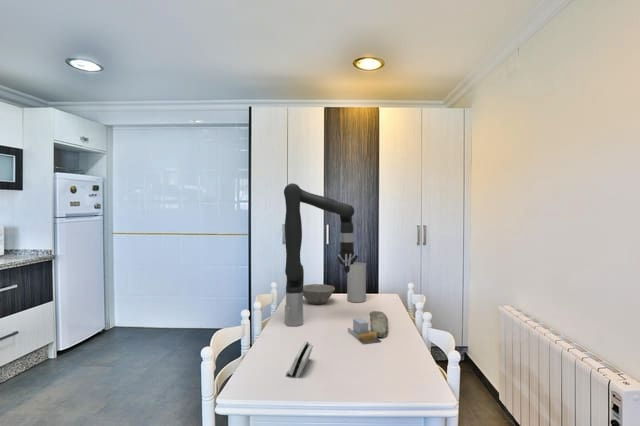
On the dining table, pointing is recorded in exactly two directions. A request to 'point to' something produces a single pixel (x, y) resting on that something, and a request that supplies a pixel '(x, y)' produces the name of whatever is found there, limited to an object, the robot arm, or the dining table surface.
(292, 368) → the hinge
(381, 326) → the long grey stone
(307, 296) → the ceramic bowl
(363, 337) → the rail mount
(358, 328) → the module
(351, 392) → the dining table surface
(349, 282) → the cylinder vase
